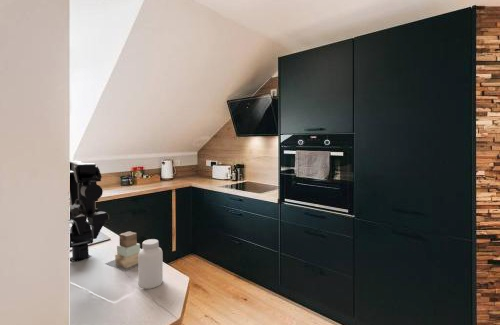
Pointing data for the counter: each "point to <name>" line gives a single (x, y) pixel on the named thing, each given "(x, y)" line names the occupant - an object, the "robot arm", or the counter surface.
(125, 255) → the tower mid
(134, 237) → the walnut block
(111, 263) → the slate board
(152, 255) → the pill bottle
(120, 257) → the tower base
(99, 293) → the counter surface
